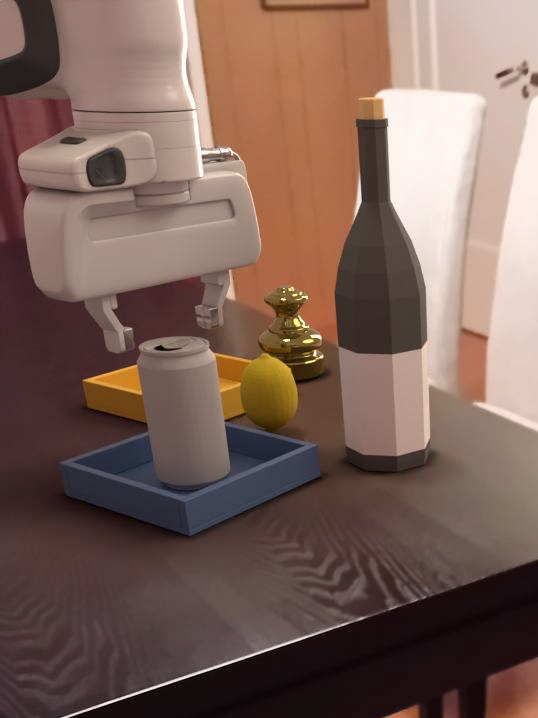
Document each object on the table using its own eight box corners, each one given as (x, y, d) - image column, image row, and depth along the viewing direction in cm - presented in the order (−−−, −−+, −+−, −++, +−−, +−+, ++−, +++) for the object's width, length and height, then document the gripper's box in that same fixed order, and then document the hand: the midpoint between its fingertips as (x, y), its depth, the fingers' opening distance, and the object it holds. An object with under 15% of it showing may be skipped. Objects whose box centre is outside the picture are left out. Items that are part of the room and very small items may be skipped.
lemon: (312, 433, 101) (305, 353, 97) (267, 446, 98) (257, 364, 94) (279, 421, 105) (270, 343, 101) (234, 433, 101) (223, 354, 97)
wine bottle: (401, 478, 91) (384, 101, 75) (329, 463, 94) (298, 99, 79) (447, 451, 97) (440, 97, 81) (377, 437, 100) (358, 95, 85)
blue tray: (65, 495, 88) (58, 462, 86) (200, 444, 99) (196, 414, 97) (190, 536, 80) (184, 501, 79) (320, 476, 91) (318, 444, 90)
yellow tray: (87, 407, 109) (81, 380, 107) (196, 373, 120) (192, 348, 119) (187, 433, 101) (182, 404, 100) (293, 395, 113) (291, 368, 111)
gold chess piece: (288, 362, 124) (280, 277, 119) (337, 370, 121) (330, 283, 116) (248, 377, 119) (237, 289, 114) (298, 386, 115) (289, 295, 110)
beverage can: (142, 486, 88) (116, 347, 82) (190, 462, 93) (169, 330, 87) (200, 498, 86) (178, 356, 80) (246, 473, 91) (229, 338, 84)
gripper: (214, 141, 85) (233, 310, 92) (-5, 160, 70) (37, 359, 77) (269, 146, 82) (284, 320, 89) (52, 166, 67) (90, 373, 74)
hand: (168, 338), depth 83 cm, fingers open, 8 cm apart
